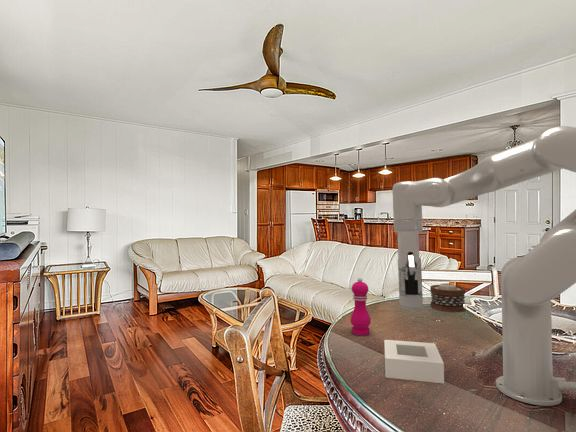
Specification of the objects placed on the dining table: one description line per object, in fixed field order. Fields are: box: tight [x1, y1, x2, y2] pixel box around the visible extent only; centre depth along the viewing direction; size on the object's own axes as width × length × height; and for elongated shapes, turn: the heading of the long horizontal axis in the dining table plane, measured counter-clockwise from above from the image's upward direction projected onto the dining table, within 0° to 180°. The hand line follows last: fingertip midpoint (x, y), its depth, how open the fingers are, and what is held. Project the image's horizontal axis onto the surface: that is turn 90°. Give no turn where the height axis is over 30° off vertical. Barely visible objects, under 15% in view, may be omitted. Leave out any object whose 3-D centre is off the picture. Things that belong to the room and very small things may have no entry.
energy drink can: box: [397, 256, 424, 311], centre depth 93 cm, size 6×6×15 cm
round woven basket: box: [430, 283, 466, 313], centre depth 154 cm, size 15×11×15 cm
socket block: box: [383, 339, 445, 385], centre depth 92 cm, size 14×14×5 cm
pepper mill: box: [350, 277, 372, 336], centre depth 122 cm, size 7×7×20 cm
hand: (410, 291), depth 93 cm, fingers closed on energy drink can, 6 cm apart
